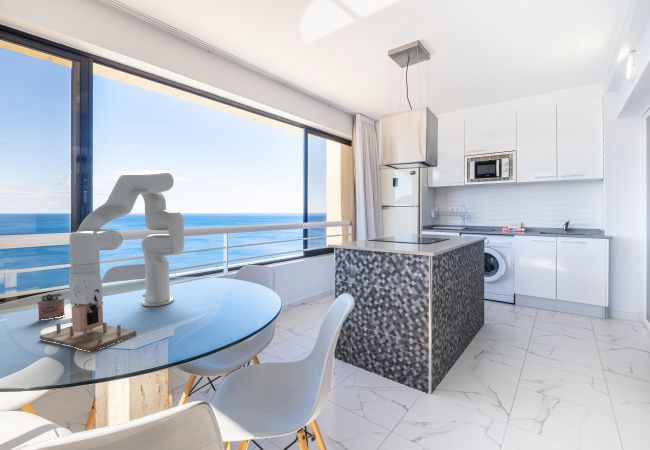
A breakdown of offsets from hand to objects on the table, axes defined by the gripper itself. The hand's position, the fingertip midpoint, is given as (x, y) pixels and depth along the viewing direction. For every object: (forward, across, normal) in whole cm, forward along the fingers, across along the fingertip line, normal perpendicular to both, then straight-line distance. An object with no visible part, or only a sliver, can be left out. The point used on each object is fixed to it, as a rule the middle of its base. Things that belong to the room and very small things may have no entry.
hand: (88, 322), depth 102 cm
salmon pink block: (+2, 0, 0) cm, 2 cm away
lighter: (+6, -34, +7) cm, 35 cm away
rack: (+5, 0, 0) cm, 5 cm away
